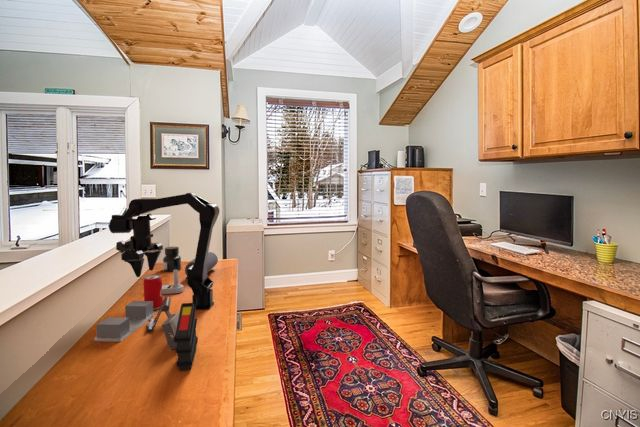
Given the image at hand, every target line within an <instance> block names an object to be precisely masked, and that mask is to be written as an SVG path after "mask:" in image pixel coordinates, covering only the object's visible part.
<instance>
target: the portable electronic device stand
mask: <svg viewBox="0 0 640 427" xmlns="http://www.w3.org/2000/svg"><path fill="white" fill-rule="evenodd" d="M171 300H172V298H171V297H170V296H165V297H164V298H163V303H162V305H161V307H160V308H159V309H158V312H157V314H156V316H155V318H153V317H151V316H150V318H149V320H148V322H147V325H146V332H147V333H148V334H151V333H152V332H153V331H154V329H155V327H156V326H157V322H158V320H159V318H160V316H161V313H162V312H164V313H165V314H166V316H167V319H168V318H169V317H170V316H171V315H172V313H171V312H170V306H171Z"/></svg>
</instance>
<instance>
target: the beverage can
mask: <svg viewBox="0 0 640 427" xmlns="http://www.w3.org/2000/svg"><path fill="white" fill-rule="evenodd" d="M162 286H163V279H162V277H161V275H160V274H150V275H147V276H145V277H144V280H143V301H153V311H154V310H159V309H160V307H161V305H162V303H163V300H164V298H163V295H164V294H163V293H162Z"/></svg>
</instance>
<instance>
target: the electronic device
mask: <svg viewBox="0 0 640 427" xmlns="http://www.w3.org/2000/svg"><path fill="white" fill-rule="evenodd" d="M172 272H173V278H172V280H173V284H166V285H165V284H162V293H163V295H168V294H169V295H171V294H172V295H174V294H178V293H179V294H180V293H182V292H184V291H185V288H184V285H183V284H181V283H180V281H179V270H173V271H172Z"/></svg>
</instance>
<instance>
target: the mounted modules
mask: <svg viewBox="0 0 640 427" xmlns="http://www.w3.org/2000/svg"><path fill="white" fill-rule="evenodd" d="M124 309H125V316H126V317H147V316H149V315H150V314H151V313H153V311H154V310H153V301H144V300H132V301H131V302H129V303H128V304H126V305H125V308H124ZM95 324H96V326H95V328H96V329H95V330H96V336H97V337H115V338H120V337H122V336H123V335H124V334H126V333H127V332H128V331H129V330H130V325H129V318H124V317H105V318H104V319H102V320H101V321H99V322H98V323H95Z"/></svg>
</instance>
